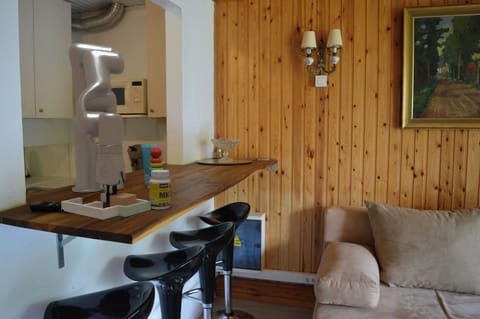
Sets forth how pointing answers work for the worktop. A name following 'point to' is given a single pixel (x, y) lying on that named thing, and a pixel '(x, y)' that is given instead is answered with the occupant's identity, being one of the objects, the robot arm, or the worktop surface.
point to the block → (123, 199)
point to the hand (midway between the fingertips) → (111, 204)
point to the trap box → (100, 213)
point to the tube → (147, 160)
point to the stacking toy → (155, 161)
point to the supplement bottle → (160, 189)
